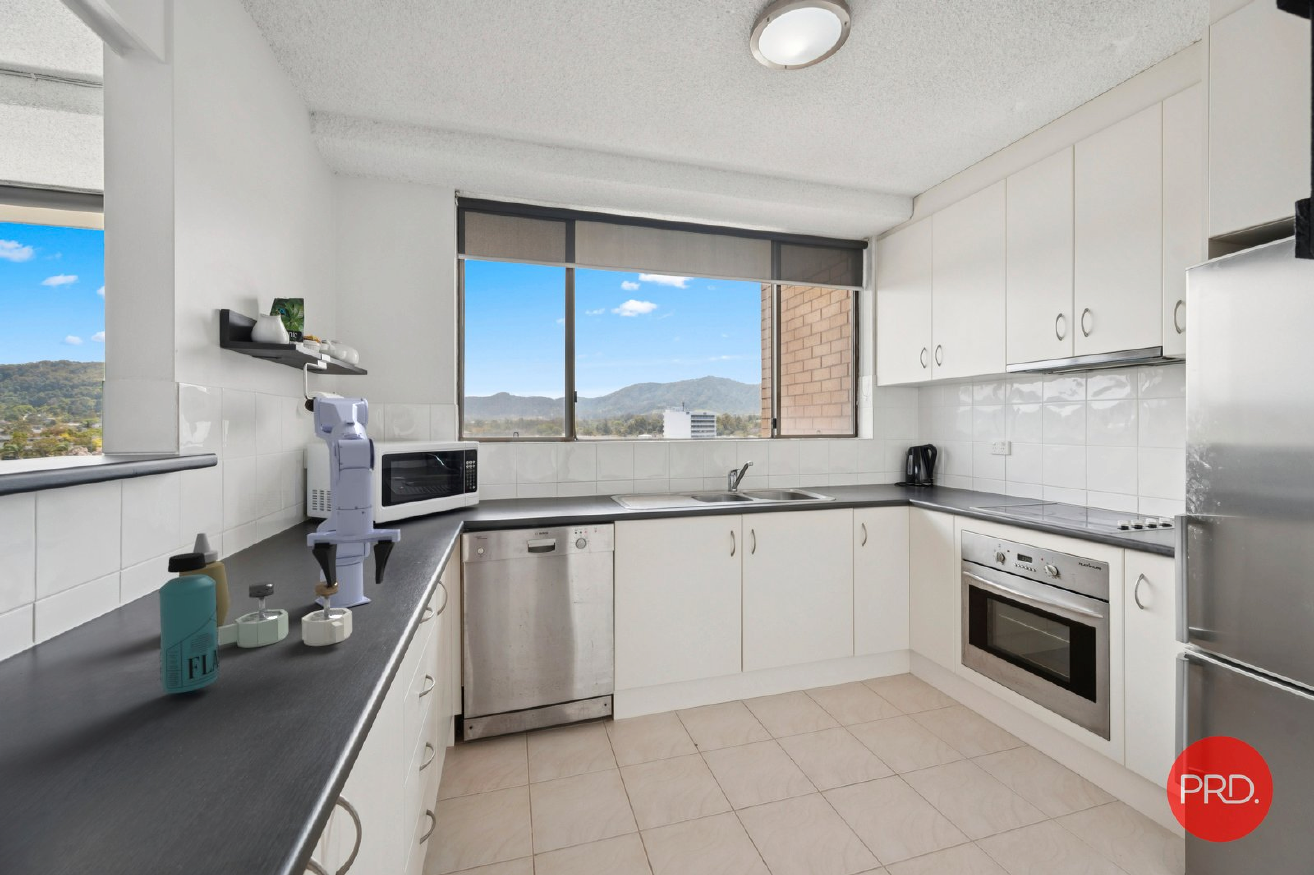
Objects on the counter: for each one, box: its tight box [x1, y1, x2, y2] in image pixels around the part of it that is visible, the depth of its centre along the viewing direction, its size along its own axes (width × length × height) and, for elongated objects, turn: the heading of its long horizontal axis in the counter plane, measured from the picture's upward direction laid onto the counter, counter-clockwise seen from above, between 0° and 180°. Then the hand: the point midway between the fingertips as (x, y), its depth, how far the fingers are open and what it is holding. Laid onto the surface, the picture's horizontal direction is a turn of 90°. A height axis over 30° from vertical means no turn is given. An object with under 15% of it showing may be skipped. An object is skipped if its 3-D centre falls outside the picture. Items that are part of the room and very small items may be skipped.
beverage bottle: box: [158, 552, 220, 694], centre depth 79 cm, size 6×7×20 cm
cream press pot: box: [301, 607, 353, 647], centre depth 98 cm, size 10×7×4 cm
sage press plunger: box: [245, 581, 279, 622], centre depth 98 cm, size 5×5×6 cm
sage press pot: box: [217, 608, 289, 649], centre depth 98 cm, size 10×7×4 cm
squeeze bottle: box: [178, 532, 231, 629], centre depth 104 cm, size 8×8×18 cm
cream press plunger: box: [311, 581, 343, 621], centre depth 99 cm, size 5×5×6 cm
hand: (355, 584), depth 98 cm, fingers open, 7 cm apart
